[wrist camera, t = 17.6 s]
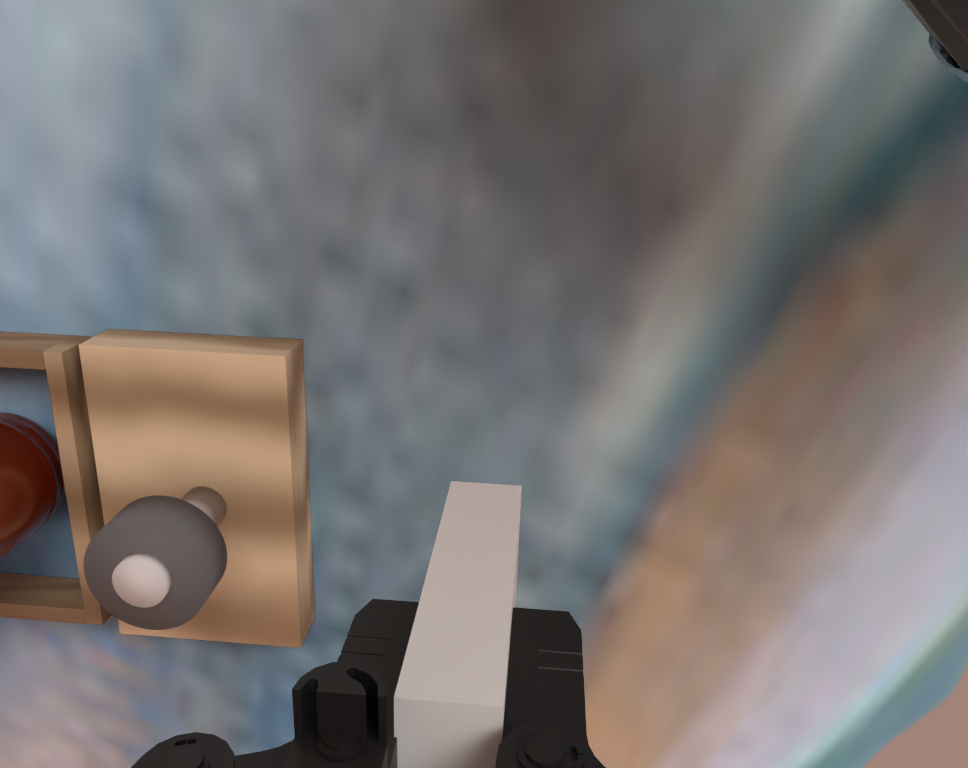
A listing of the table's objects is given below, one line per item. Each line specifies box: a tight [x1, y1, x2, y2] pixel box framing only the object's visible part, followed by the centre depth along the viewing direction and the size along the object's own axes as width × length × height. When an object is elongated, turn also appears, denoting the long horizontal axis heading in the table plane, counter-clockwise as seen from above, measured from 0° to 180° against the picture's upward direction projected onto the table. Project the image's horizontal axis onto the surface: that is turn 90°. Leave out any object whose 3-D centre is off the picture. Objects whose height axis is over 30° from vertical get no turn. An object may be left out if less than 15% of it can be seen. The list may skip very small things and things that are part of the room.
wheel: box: [83, 495, 227, 630], centre depth 39 cm, size 6×6×3 cm
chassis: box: [0, 329, 315, 648], centre depth 45 cm, size 18×22×6 cm
